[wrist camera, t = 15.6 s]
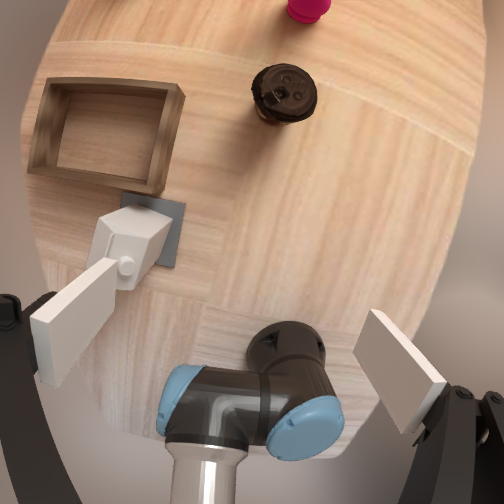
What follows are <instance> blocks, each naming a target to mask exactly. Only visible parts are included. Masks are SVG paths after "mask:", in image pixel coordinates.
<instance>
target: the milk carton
mask: <svg viewBox="0 0 504 504" xmlns="http://www.w3.org/2000/svg"><path fill="white" fill-rule="evenodd" d="M172 221H173V218H170V217H168V216H165V215H163V214H160V213H158V212H155V211H153V210H151V209H148V208H146V207H143V206H141V205H138V204H136V203H135V204H132V205H130V206H127V207H124V208H122V209H119V210H117V211H114V212H112V213H109V214H106V215H104V216H102V217H99V219H98V222H97V225H96V229H95V232H94V236H93V240H92V244H91V248H90V252H89V256H88V260H87V265H86V270H88V269H89V268H90V267H92V266H93V265H94V264H96V263H97V262H98V261H100V260H101V259H102V258H104V257H105V258H109V259H114V260H118V264H117V276H116V290H133V289H134V288H135V287H136V286H137V285H138V283H139V282H140V281H141V279H142V278H143V277H144V276H145V274H146V273H147V272H148V271H149V269H150V268H151V267H152V266H153V264H154V263H155V262H156V261H157V259H158V258H159V257H160V254H161V252H162V249H163V246H164V243H165V240H166V238H167V235H168V232H169V229H170V227H171V224H172Z"/></svg>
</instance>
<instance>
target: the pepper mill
mask: <svg viewBox="0 0 504 504" xmlns="http://www.w3.org/2000/svg"><path fill="white" fill-rule="evenodd" d="M330 5H331V0H288V5H287V11H288V13H289V15H290V16H291V17H292V18H293V19H294V20H296V21H298V22H301V23H314V22H316V21H317V20H319V18H320V17H321V15H323V14H325V13H326V12H327V11H328V10H329V8H330Z"/></svg>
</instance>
